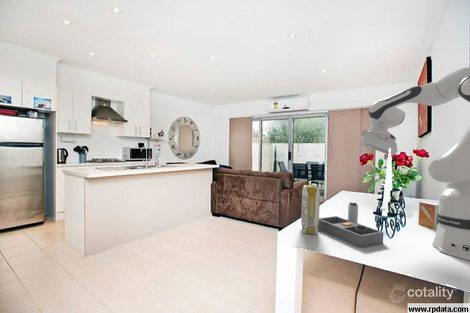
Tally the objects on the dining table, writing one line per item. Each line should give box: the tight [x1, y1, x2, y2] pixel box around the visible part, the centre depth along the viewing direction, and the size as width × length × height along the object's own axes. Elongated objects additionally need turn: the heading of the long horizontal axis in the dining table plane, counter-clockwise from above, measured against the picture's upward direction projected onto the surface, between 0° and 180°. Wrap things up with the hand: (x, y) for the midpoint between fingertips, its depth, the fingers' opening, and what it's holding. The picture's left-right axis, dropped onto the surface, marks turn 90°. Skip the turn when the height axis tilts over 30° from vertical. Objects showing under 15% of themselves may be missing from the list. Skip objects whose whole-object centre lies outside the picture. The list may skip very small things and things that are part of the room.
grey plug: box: [347, 201, 359, 224], centre depth 121 cm, size 5×5×13 cm
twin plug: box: [355, 224, 367, 235], centre depth 102 cm, size 5×5×5 cm
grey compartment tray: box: [318, 215, 384, 249], centre depth 109 cm, size 26×14×6 cm, turn 23°
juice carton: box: [300, 183, 321, 235], centre depth 112 cm, size 9×8×24 cm
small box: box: [418, 200, 439, 230], centre depth 126 cm, size 8×6×13 cm
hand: (378, 156), depth 122 cm, fingers open, 8 cm apart
